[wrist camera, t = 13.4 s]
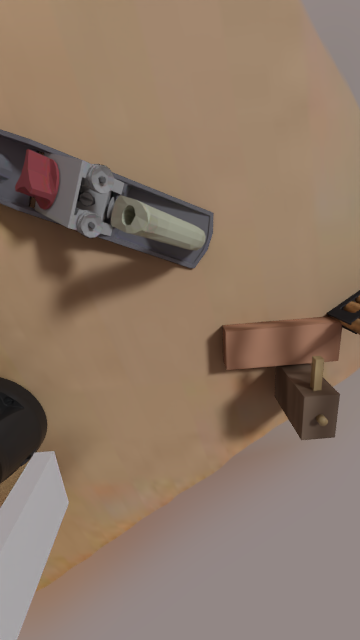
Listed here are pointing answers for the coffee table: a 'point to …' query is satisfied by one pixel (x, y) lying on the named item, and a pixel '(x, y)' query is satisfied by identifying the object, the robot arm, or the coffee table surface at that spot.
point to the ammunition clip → (348, 313)
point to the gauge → (307, 399)
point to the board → (281, 342)
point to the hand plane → (100, 202)
